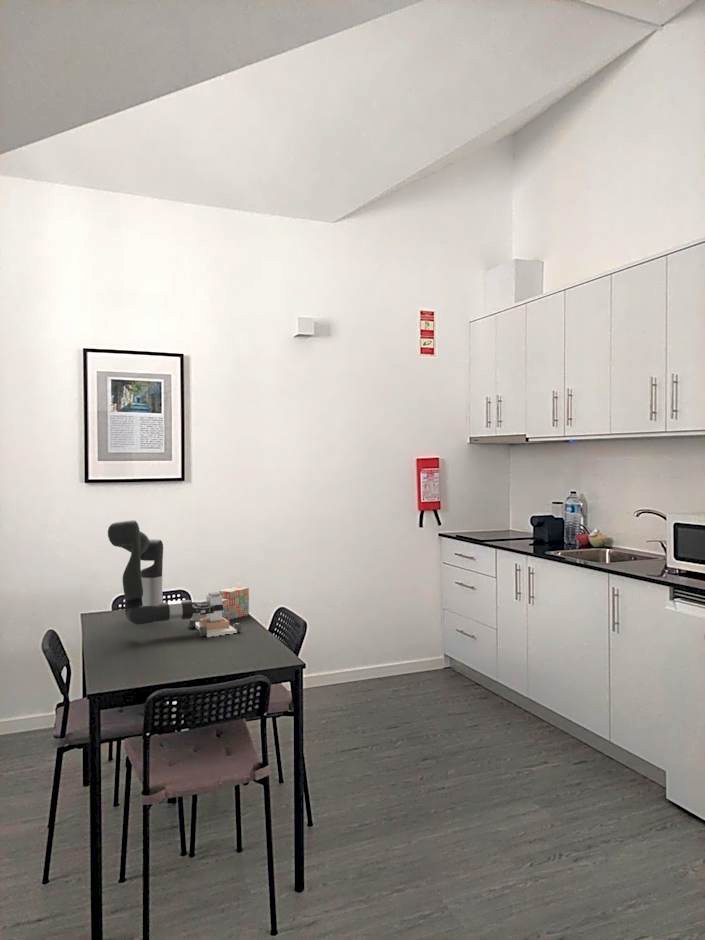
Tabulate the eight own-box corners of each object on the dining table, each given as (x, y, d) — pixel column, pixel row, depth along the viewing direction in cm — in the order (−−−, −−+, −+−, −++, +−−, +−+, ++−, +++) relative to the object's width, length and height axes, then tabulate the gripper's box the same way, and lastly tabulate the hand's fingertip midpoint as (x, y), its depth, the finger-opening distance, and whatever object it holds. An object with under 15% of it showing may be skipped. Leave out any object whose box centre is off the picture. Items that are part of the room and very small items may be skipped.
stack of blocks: (215, 624, 310) (214, 595, 310) (204, 622, 313) (203, 593, 313) (249, 615, 328) (248, 587, 328) (238, 613, 331) (238, 585, 331)
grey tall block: (206, 622, 301) (206, 592, 301) (218, 621, 304) (218, 591, 303) (210, 624, 297) (210, 594, 297) (222, 623, 299) (222, 593, 299)
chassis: (187, 626, 305) (187, 617, 305) (225, 622, 313) (225, 613, 313) (202, 637, 288) (202, 627, 288) (241, 633, 296) (241, 623, 295)
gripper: (184, 604, 287) (226, 600, 295) (174, 597, 300) (215, 593, 308) (184, 623, 287) (226, 618, 295) (174, 616, 300) (215, 611, 308)
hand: (220, 606), depth 301 cm, fingers closed on grey tall block, 5 cm apart
